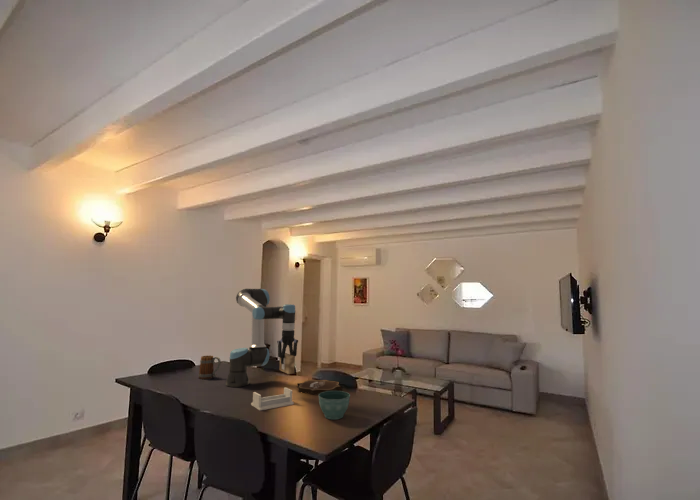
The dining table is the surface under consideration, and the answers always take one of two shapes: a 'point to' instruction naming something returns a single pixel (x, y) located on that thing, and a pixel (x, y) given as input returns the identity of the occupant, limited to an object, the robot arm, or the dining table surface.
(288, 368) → the door panel
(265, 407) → the track
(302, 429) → the dining table surface
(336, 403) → the flower pot
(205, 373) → the mug
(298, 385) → the decorative plaque
